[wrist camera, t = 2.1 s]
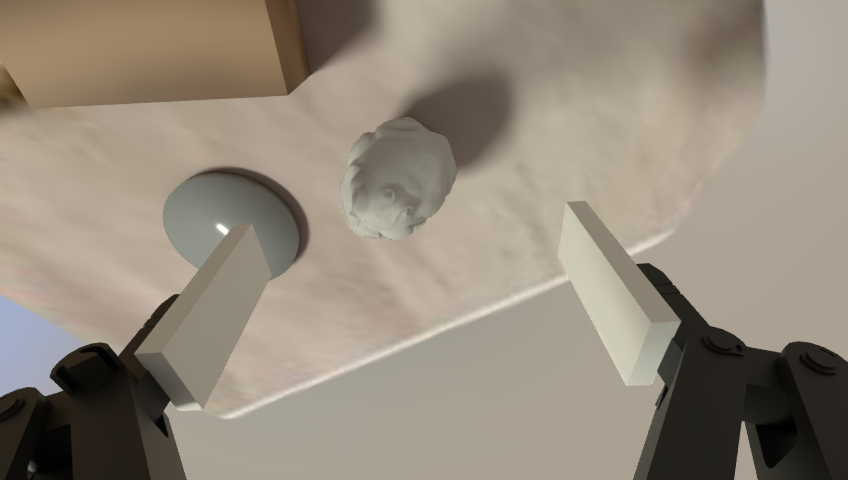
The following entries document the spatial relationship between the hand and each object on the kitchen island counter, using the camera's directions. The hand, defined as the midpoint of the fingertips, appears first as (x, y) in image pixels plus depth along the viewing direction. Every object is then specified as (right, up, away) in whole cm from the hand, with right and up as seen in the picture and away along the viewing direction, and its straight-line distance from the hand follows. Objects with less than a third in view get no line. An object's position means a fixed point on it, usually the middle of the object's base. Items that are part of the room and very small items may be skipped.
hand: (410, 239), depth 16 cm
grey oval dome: (-13, +1, +11) cm, 17 cm away
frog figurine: (-1, +6, +8) cm, 10 cm away
